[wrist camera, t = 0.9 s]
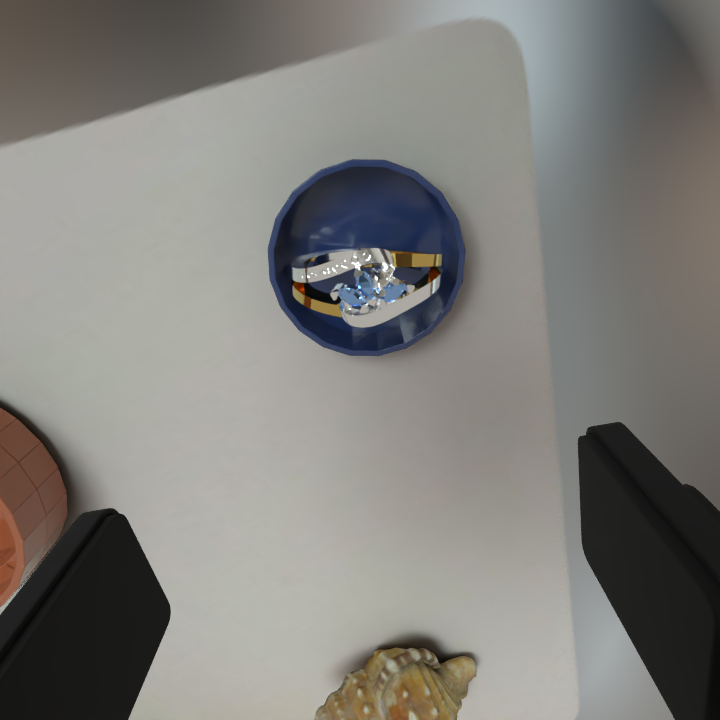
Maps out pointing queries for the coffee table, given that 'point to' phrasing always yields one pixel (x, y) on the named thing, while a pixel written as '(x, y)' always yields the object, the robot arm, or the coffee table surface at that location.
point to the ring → (365, 282)
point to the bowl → (26, 503)
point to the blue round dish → (366, 229)
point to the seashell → (401, 688)
